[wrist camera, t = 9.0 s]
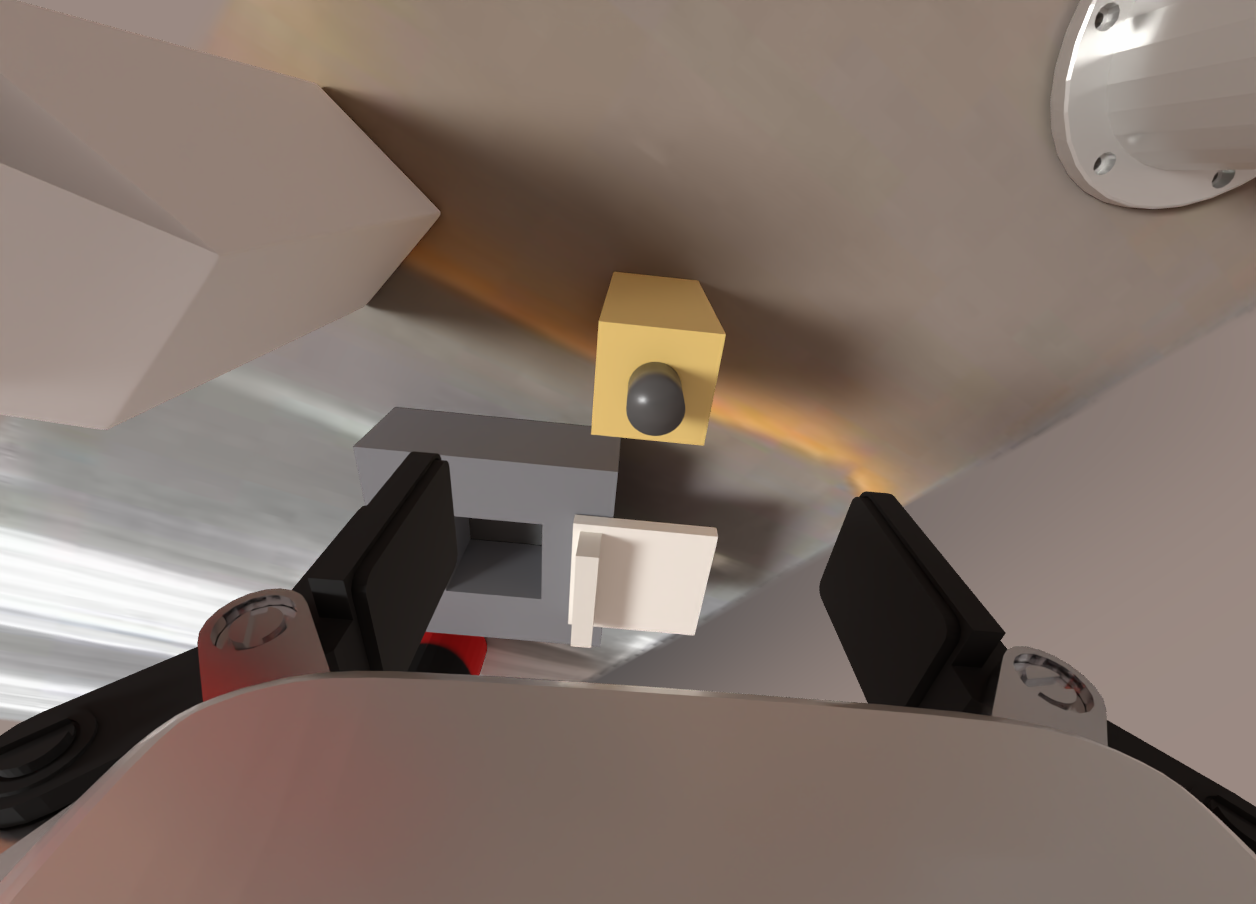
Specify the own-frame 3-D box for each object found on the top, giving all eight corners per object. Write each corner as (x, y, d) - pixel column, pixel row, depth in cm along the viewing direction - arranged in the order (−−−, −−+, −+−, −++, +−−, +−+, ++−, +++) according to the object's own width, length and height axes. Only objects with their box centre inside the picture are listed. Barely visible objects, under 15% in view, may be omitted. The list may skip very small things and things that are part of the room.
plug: (698, 280, 26) (735, 352, 15) (685, 361, 28) (709, 472, 18) (613, 271, 26) (593, 337, 15) (607, 353, 28) (585, 460, 18)
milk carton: (444, 212, 25) (39, 291, 8) (365, 307, 27) (-68, 516, 11) (318, 82, 22) (-645, -190, 6) (244, 199, 25) (-574, 253, 8)
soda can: (440, 678, 43) (375, 839, 33) (376, 626, 40) (283, 786, 30) (507, 649, 41) (460, 811, 31) (445, 593, 38) (370, 752, 27)
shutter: (716, 527, 28) (723, 561, 25) (693, 625, 32) (697, 662, 29) (575, 514, 27) (568, 547, 25) (569, 614, 31) (563, 651, 29)
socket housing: (621, 429, 30) (617, 472, 26) (605, 591, 37) (600, 646, 33) (394, 407, 30) (352, 446, 26) (420, 575, 37) (391, 628, 33)
